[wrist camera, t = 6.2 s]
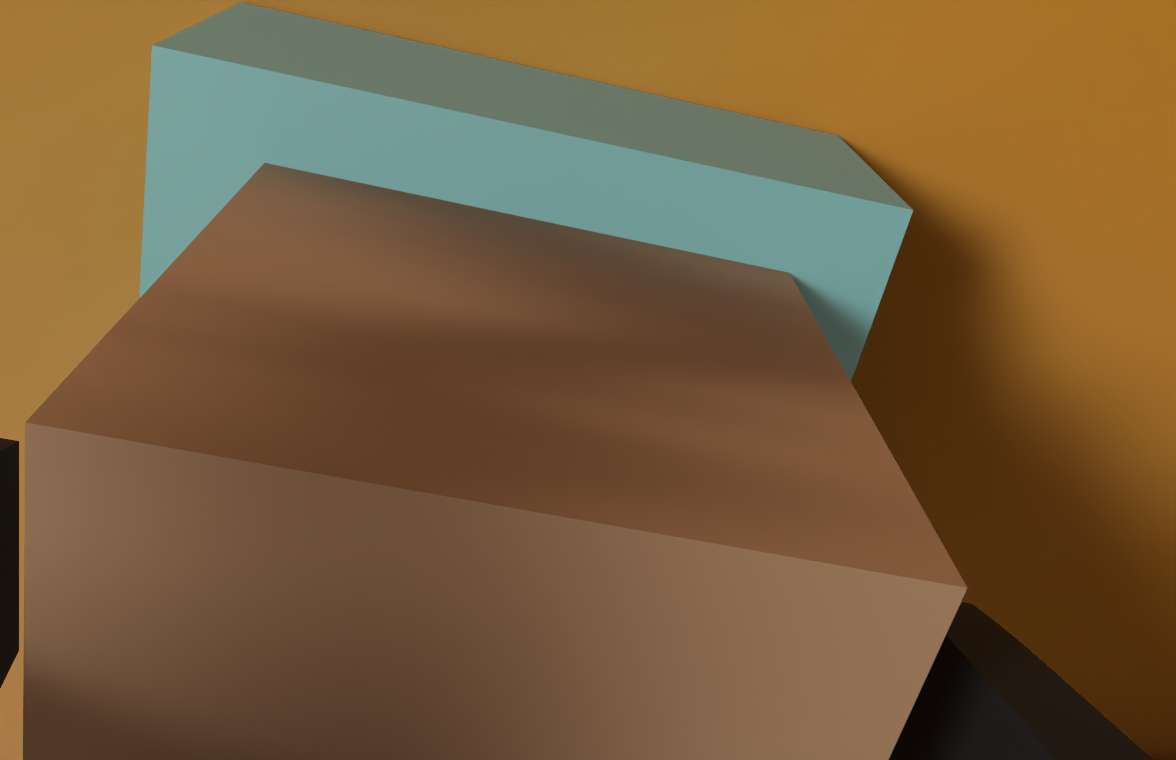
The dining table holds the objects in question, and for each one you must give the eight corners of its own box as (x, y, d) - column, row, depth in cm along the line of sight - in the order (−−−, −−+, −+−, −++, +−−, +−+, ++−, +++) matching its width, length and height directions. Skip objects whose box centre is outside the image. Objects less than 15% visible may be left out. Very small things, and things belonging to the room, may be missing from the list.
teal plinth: (838, 136, 13) (912, 210, 10) (686, 603, 16) (714, 757, 13) (241, 2, 12) (152, 45, 9) (197, 522, 15) (120, 668, 12)
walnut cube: (789, 271, 10) (967, 588, 6) (658, 671, 13) (719, 1126, 8) (263, 162, 10) (25, 422, 5) (220, 601, 12) (19, 1052, 7)
